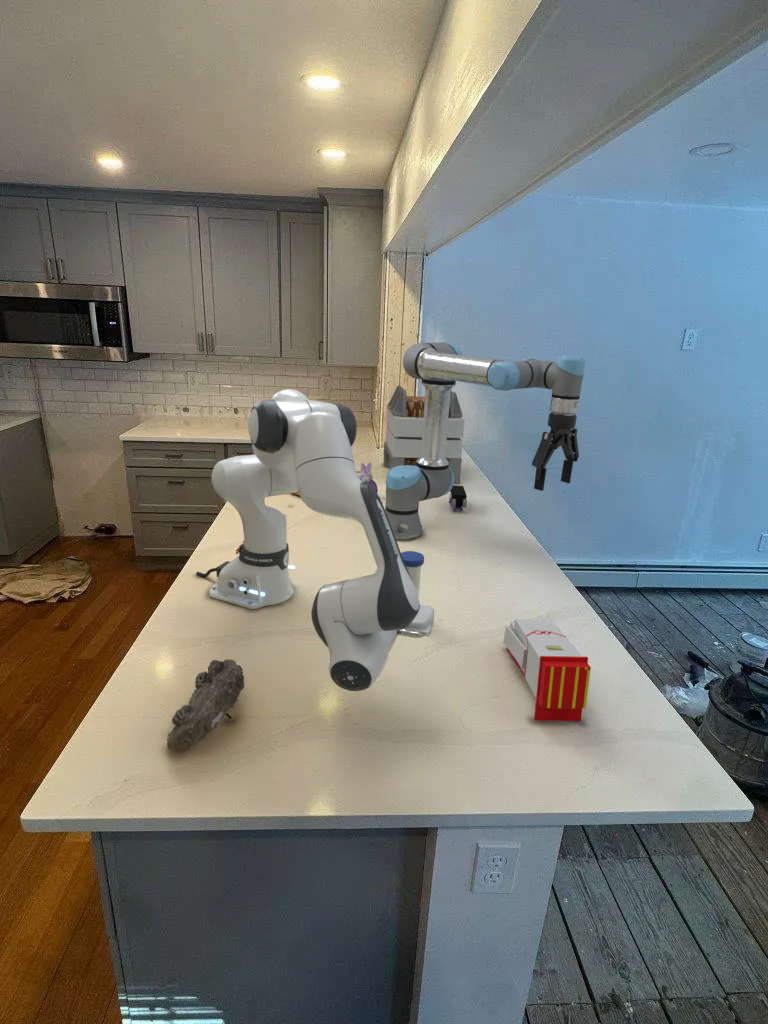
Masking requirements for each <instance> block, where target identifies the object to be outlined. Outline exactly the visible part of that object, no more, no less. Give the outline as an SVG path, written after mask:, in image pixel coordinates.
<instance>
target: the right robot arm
mask: <svg viewBox="0 0 768 1024" xmlns="http://www.w3.org/2000/svg"><path fill="white" fill-rule="evenodd" d="M585 365H586V360H585V358H584V357H582V356H578V355H566V354H565V355H564V354H563V355H558V356H557V357H556V360H555V361H549V360H541V359H536V358H524V359H521V360H506V359H505V360H504V359H503V360H502V359H496V358H487V357H479V356H471V355H464V354H463V352H462V350H461V349H460V347H459V346H457V345H456V344H455V343H451V342H445V341H443V342H442V341H441V342H440V341H439V342H438V341H437V342H417V343H414V344H412V345H411V346H409V347H408V348H407V350H406V351H405V353H404V355H403V358H402V366H403V369H404V372H405V373H406V374H407V375H408V376H409V377H411V378H412V379H415V380H421V385H422V386H423V387H424V389H425V392H424V397H425V404H424V419H423V434H422V449H421V457H420V458H418V459H417V461H416V466H413V465H401V466H396V467H394V468H392V469H390V468H389V470H388V472H387V474H386V479H385V504H384V505H385V507H384V509H385V511H386V514H387V516H388V519H389V522H390V524H391V527H392V530H393V533H394V535H395V538H396V541H410V540H415V539H418V538H420V537H421V536H422V535H423V525H422V524H421V518H420V515H419V507H420V506H419V505H420V502H423V501H427V500H431V499H437V498H440V497H443V496H446V495H448V493H450V490H451V489H452V487H453V485H454V484H455V483H454V473H452V469H451V467H450V466H449V462H448V461H447V459H446V458H445V453H446V441H447V428H448V416H449V404H450V392H451V391H452V389H453V388H454V387H455V386H456V384H457V382H461V383H465V384H473V385H479V386H487V387H491V388H492V389H494V390H496V391H503V392H504V391H511V390H520V389H532V388H533V389H534V388H539V389H546V390H551V398H550V404H549V413H548V418H547V419H548V420H547V426H548V427H549V428H550V431H549V432H548V431H543V432H542V435H541V440H540V442H539V445H538V447H537V449H536V452H535V454H534V457H533V460H532V461H531V466H533V467H535V475H534V477H535V478H534V485H533V489H534V490H537V491H539V492H543V491H544V489H545V484H546V483H545V482H546V476H547V468H546V466H547V465H548V463H549V461H550V459H551V457H552V456H553V454H554V453H555V451H556V450H557V449H558V448H560V447H561V449H562V452H563V455H564V458H565V459H563V463H562V468H561V469H562V470H561V475H560V482H562V483H566V484H571V478H572V472H573V466H574V463H576V462H578V461H579V457H580V453H579V444H578V428H576V423H577V419H578V416H577V414H578V412H579V411H578V410H579V406H580V397H581V391H582V385H583V380H584V376H585ZM290 495H292V496H295V497H298V498H301V497H300V494H299V493H296V492H294V493H291V494H290Z"/></svg>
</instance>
